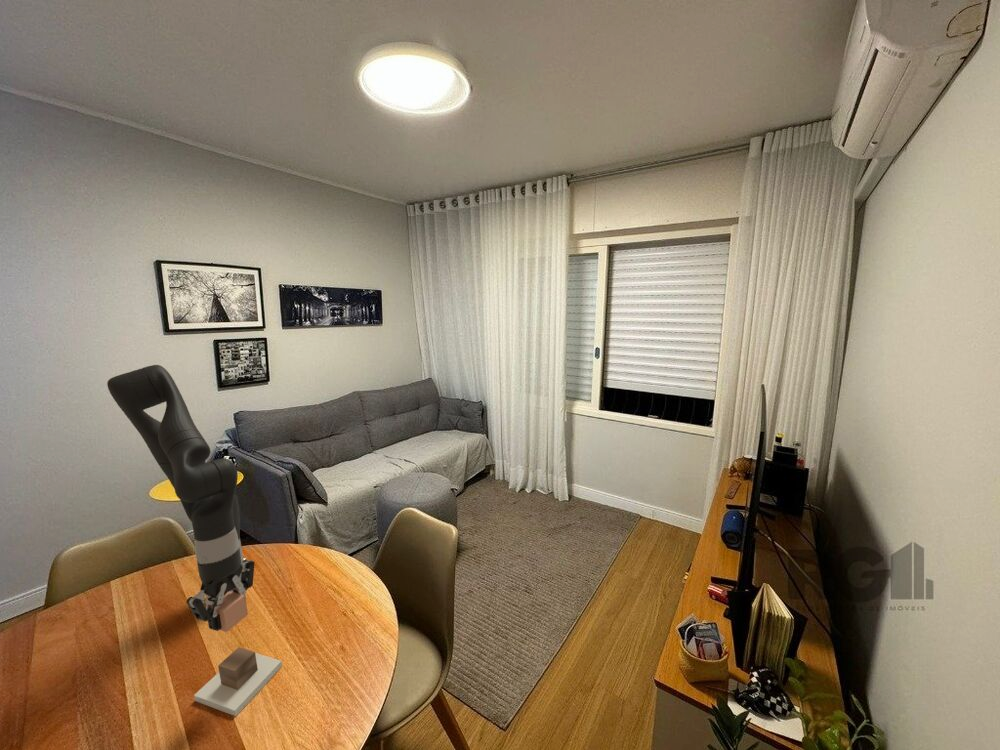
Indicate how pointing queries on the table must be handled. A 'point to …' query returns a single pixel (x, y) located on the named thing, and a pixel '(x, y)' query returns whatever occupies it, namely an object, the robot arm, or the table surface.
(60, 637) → the table surface
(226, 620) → the pink cube
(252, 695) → the base plate
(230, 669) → the walnut brick
